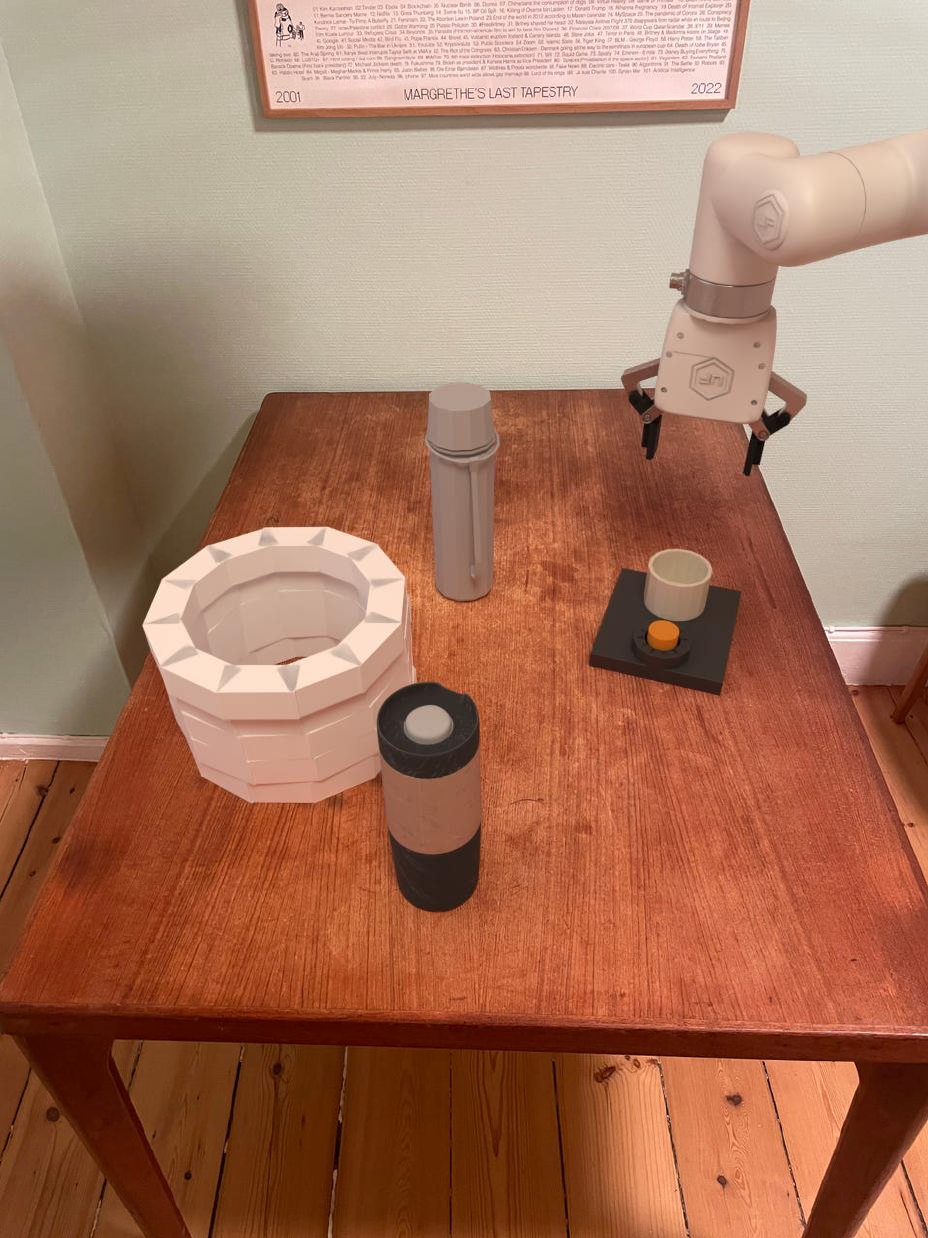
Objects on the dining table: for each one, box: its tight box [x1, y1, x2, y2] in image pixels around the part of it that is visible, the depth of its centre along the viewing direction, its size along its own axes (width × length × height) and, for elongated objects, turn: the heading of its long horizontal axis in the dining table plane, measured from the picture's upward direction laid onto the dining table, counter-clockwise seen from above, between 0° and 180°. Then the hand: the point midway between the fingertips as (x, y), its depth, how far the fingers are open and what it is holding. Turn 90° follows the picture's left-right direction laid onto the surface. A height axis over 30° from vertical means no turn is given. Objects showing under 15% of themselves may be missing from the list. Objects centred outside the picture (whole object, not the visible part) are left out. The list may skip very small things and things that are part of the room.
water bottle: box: [424, 382, 501, 603], centre depth 99 cm, size 9×8×25 cm
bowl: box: [644, 548, 714, 621], centre depth 100 cm, size 7×7×5 cm
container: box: [141, 526, 418, 805], centre depth 87 cm, size 25×24×16 cm
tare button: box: [647, 620, 679, 651], centre depth 95 cm, size 3×3×2 cm
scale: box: [588, 567, 742, 696], centre depth 100 cm, size 14×16×4 cm
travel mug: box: [377, 680, 483, 913], centre depth 71 cm, size 8×8×20 cm
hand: (698, 461), depth 90 cm, fingers open, 9 cm apart
